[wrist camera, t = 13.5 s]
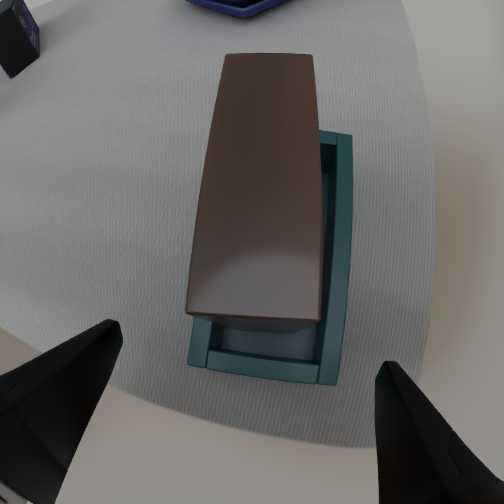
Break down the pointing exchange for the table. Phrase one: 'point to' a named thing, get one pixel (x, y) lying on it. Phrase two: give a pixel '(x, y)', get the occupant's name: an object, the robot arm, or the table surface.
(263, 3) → the flower pot
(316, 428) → the table surface
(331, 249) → the holder
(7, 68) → the box
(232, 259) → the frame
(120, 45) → the table surface
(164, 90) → the table surface
